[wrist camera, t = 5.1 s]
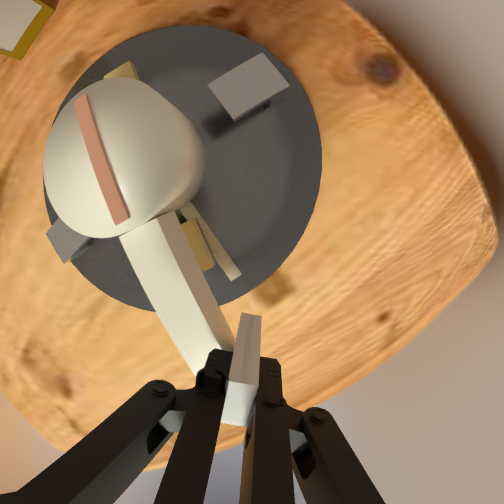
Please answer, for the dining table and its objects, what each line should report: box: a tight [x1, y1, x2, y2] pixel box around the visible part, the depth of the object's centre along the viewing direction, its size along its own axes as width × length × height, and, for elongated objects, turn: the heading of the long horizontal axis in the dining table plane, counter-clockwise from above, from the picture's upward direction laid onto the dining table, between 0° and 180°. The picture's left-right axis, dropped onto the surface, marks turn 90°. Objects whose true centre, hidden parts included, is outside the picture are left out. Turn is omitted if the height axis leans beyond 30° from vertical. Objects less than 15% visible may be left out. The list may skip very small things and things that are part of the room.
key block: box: [43, 61, 235, 376], centre depth 15 cm, size 22×8×8 cm, turn 22°
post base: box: [43, 25, 322, 312], centre depth 18 cm, size 24×24×4 cm
